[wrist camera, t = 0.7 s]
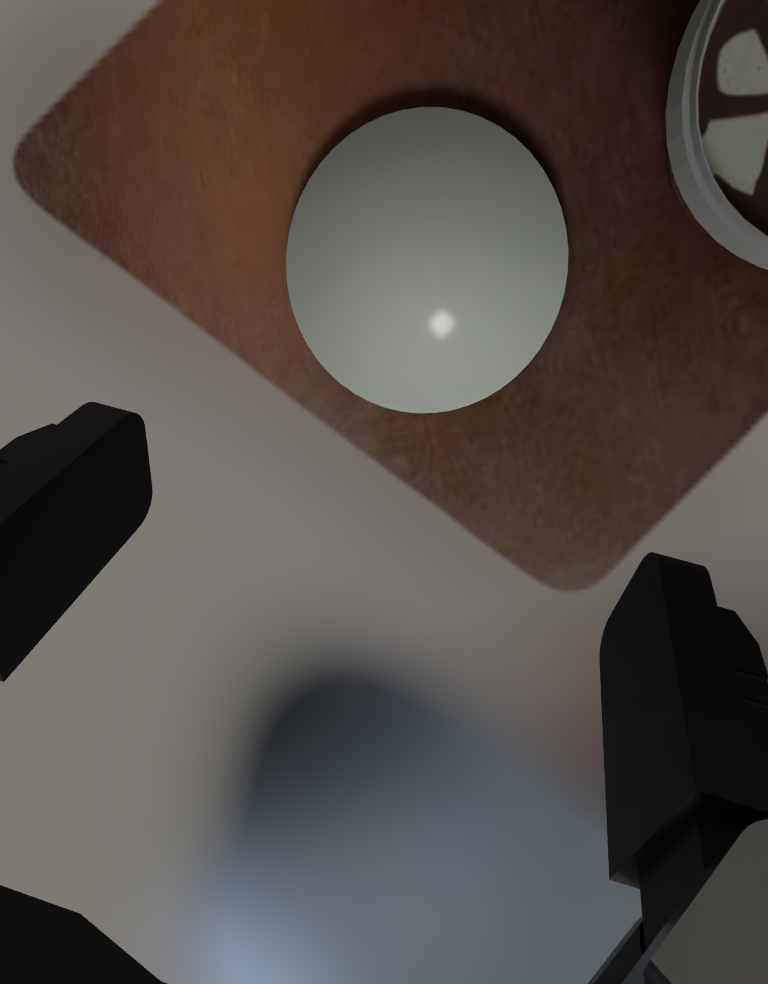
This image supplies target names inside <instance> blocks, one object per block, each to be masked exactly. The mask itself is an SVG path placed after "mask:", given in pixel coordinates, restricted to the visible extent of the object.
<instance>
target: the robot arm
mask: <svg viewBox="0 0 768 984" xmlns="http://www.w3.org/2000/svg"><path fill="white" fill-rule="evenodd" d="M151 500H152V481H151V474H150V465H149V456H148V447H147V439H146V431H145V424H144V421H143V419H142V418H141V416H140V415H139V414H137V413H133V412H129V411H126V410H122V409H118V408H114V407H111V406H107V405H103V404H99V403H96V402H88V403H86V404H84V405H82V406H81V407H80V408H78V409H77V410H76V411H74V412H73V413H72V414H70V415H69V416H68V417H67V418H65V419H64V420H63V421H61V422H60V423H59V424H57V425H55V424H49V425H47V426H44V427H42V428H39V429H37V430H34V431H32V432H29V433H26V434H24V435H21V436H19V437H17V438H15V439H14V440H12V441H11V442H10V443H8V444H7V445H6V446H4V447H3V448H2V449H0V681H3V682H4V681H5V680H6V679H7V678H8V677H9V676H10V674H11V673H12V672H13V671H14V670H15V669H16V668H17V666H18V665H19V664H20V663H21V662H22V661H23V659H24V658H25V657H26V656H27V655H28V654H29V653H30V651H31V650H32V649H33V648H34V647H35V646H36V645H37V644H38V642H39V641H40V640H41V639H42V638H43V637H44V635H45V634H46V633H47V632H48V631H49V630H50V629H51V627H52V626H53V625H54V624H55V623H56V622H57V621H58V619H59V618H60V617H61V616H62V615H63V614H64V613H65V611H66V610H67V609H68V608H69V607H70V606H71V605H72V603H73V602H74V601H75V600H76V599H77V598H78V596H79V595H80V594H81V593H82V592H83V591H84V590H85V588H86V587H87V586H88V585H89V584H90V583H91V582H92V580H93V579H94V578H95V577H96V576H97V575H98V574H99V572H100V571H101V570H102V569H103V568H104V567H105V565H106V564H107V563H108V562H109V561H110V560H111V559H112V558H113V556H114V555H115V554H116V553H117V552H118V551H119V549H120V548H121V547H122V546H123V545H124V544H125V543H126V541H127V540H128V539H129V538H130V537H131V536H132V535H133V533H134V532H135V531H136V530H137V529H138V527H140V525H141V524H142V522H143V521H144V519H145V517H146V515H147V513H148V510H149V507H150V505H151ZM600 681H601V703H602V725H603V747H604V769H605V791H606V813H607V836H608V858H609V879H610V880H613V881H616V882H619V883H623V884H626V885H629V886H632V887H635V888H638V889H640V892H641V905H642V917H640V918H639V919H638V920H637V921H636V922H635V923H634V925H633V926H632V928H631V929H630V930H629V931H628V932H627V934H626V935H625V936H624V938H623V939H622V940H621V942H620V943H619V944H618V945H617V947H616V948H615V949H614V950H613V952H612V953H611V954H610V956H609V957H608V958H607V960H606V961H605V962H604V963H603V965H602V966H601V967H600V969H599V970H598V971H597V972H596V974H595V975H594V976H593V978H592V979H591V980H590V981H589V983H588V984H768V683H767V681H768V674H767V670H766V667H765V664H764V660H763V657H762V654H761V650H760V647H759V644H758V643H757V641H756V640H755V639H754V637H753V636H752V634H751V633H750V632H749V630H748V629H747V627H746V626H745V625H744V623H743V622H742V621H741V619H740V618H739V616H738V615H737V614H736V612H735V611H732V610H729V609H725V608H721V607H718V606H717V602H716V598H715V594H714V590H713V587H712V583H711V578H710V575H709V572H708V571H707V569H706V568H705V567H704V566H702V565H698V564H694V563H690V562H687V561H682V560H679V559H675V558H672V557H668V556H664V555H660V554H657V553H653V552H652V553H648V554H647V555H646V556H645V557H644V558H643V560H642V561H641V563H640V564H639V566H638V568H637V570H636V571H635V573H634V575H633V577H632V578H631V580H630V582H629V584H628V585H627V587H626V589H625V591H624V592H623V594H622V596H621V598H620V599H619V601H618V603H617V605H616V606H615V608H614V610H613V611H612V613H611V615H610V617H609V619H608V621H607V623H606V626H605V629H604V632H603V636H602V640H601V645H600ZM0 984H167V983H164V982H162V981H160V980H159V979H157V978H156V977H155V976H154V975H152V974H151V973H150V972H149V971H148V970H146V969H145V968H144V967H143V966H142V965H141V964H139V963H138V962H137V961H136V960H135V959H133V958H132V957H131V956H130V955H129V954H127V953H126V952H125V951H124V950H123V949H122V948H120V947H119V946H118V945H117V944H115V943H114V942H113V941H112V940H111V939H110V938H108V937H107V936H106V935H105V934H104V933H102V932H101V931H100V930H99V929H98V928H97V927H95V926H94V925H93V924H92V923H91V922H89V921H88V920H87V919H86V918H85V917H83V916H82V915H81V914H79V913H77V912H74V911H71V910H68V909H65V908H62V907H59V906H57V905H54V904H51V903H48V902H46V901H43V900H40V899H37V898H35V897H32V896H29V895H26V894H23V893H21V892H18V891H15V890H12V889H9V888H7V887H4V886H1V885H0Z"/></svg>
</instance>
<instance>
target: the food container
mask: <svg viewBox="0 0 768 984" xmlns="http://www.w3.org/2000/svg"><path fill="white" fill-rule="evenodd" d="M666 136H667V152H666V157H667V173H668V178H669V183H670V187H671V189H672V192H673V194H674V197H675V199H676V202H677V203H678V205H679V206H680V208H681V209H682V211H683V213H684V214H685V215H686V216H687V217H688V218H689V219H690V220H691V221H692V222H693V224H694V225H695V226H697V227H698V228H700V229H701V230H702V231H704V232H705V233H707V234H708V235H710V236H712V237H713V239H714V240H716V241H717V242H718V243H720V244H721V245H723V246H724V247H725V248H727V249H728V250H729V251H731V252H732V253H733V254H735V255H736V256H738V257H740V258H742V259H744V260H746V261H748V262H750V263H752V264H754V265H756V266H758V267H761V268H764V269H768V0H700V2H699V4H698V5H697V7H696V9H695V11H694V13H693V14H692V16H691V18H690V21H689V23H688V26H687V28H686V31H685V33H684V36H683V38H682V41H681V43H680V46H679V48H678V51H677V55H676V58H675V62H674V66H673V70H672V74H671V78H670V82H669V89H668V98H667V107H666Z"/></svg>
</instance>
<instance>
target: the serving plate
mask: <svg viewBox="0 0 768 984" xmlns="http://www.w3.org/2000/svg"><path fill="white" fill-rule="evenodd" d="M567 273H568V241H567V232H566V226H565V221H564V217H563V213H562V209H561V206H560V203H559V201H558V198H557V195H556V193H555V190H554V188H553V186H552V184H551V182H550V180H549V179H548V177H547V175H546V173H545V171H544V170H543V168H542V167H541V166H540V164H539V163H538V162H537V160H536V159H535V158H534V156H533V155H532V154H531V152H530V151H529V150H528V149H526V148H525V147H524V146H523V145H522V144H521V143H520V142H519V141H518V140H517V139H516V138H515V137H514V136H512V135H511V134H510V133H508V132H507V131H505V130H504V129H503V128H501V127H500V126H498V125H496V124H494V123H492V122H490V121H488V120H486V119H484V118H482V117H480V116H477V115H474V114H471V113H468V112H465V111H462V110H456V109H450V108H444V107H419V108H412V109H405V110H400V111H397V112H394V113H391V114H387V115H384V116H382V117H379V118H377V119H375V120H373V121H371V122H369V123H367V124H365V125H363V126H362V127H360V128H359V129H357V130H356V131H354V132H353V133H351V134H350V135H348V136H347V137H346V138H345V139H344V140H342V141H341V142H340V143H339V144H338V145H337V146H335V147H334V148H333V149H332V150H331V152H330V153H329V154H328V155H327V156H326V157H325V158H324V160H323V161H322V162H321V163H320V164H319V166H318V167H317V169H316V170H315V172H314V173H313V175H312V176H311V178H310V179H309V181H308V183H307V185H306V187H305V189H304V190H303V192H302V194H301V196H300V199H299V201H298V204H297V207H296V210H295V212H294V215H293V219H292V223H291V227H290V231H289V236H288V244H287V252H286V275H287V284H288V292H289V297H290V301H291V306H292V310H293V313H294V315H295V318H296V321H297V324H298V327H299V329H300V331H301V333H302V335H303V337H304V339H305V341H306V343H307V345H308V346H309V348H310V349H311V351H312V352H313V354H314V356H315V357H316V358H317V359H318V361H319V362H320V363H321V364H322V366H323V367H324V368H325V369H326V370H327V371H328V372H329V373H330V374H331V375H332V376H333V377H334V378H335V379H336V380H337V381H338V382H339V383H341V384H342V385H343V386H345V387H346V388H347V389H349V390H350V391H351V392H353V393H355V394H356V395H358V396H360V397H362V398H364V399H365V400H367V401H370V402H372V403H375V404H377V405H380V406H382V407H385V408H389V409H393V410H397V411H403V412H411V413H436V412H443V411H450V410H454V409H458V408H461V407H465V406H468V405H470V404H473V403H475V402H477V401H480V400H482V399H484V398H486V397H488V396H489V395H491V394H493V393H494V392H496V391H498V390H499V389H501V388H502V387H503V386H505V385H506V384H507V383H509V382H510V381H511V380H512V379H514V378H515V377H516V376H517V375H518V374H519V373H520V372H521V371H522V370H523V369H524V368H525V367H526V366H527V365H528V364H529V363H530V361H531V360H532V359H533V357H534V356H535V355H536V353H537V352H538V351H539V349H540V348H541V347H542V345H543V343H544V341H545V340H546V338H547V336H548V335H549V333H550V331H551V329H552V327H553V324H554V322H555V320H556V317H557V315H558V313H559V309H560V306H561V302H562V299H563V295H564V292H565V286H566V279H567Z"/></svg>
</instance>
